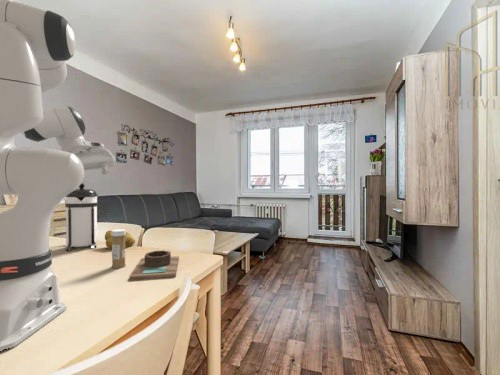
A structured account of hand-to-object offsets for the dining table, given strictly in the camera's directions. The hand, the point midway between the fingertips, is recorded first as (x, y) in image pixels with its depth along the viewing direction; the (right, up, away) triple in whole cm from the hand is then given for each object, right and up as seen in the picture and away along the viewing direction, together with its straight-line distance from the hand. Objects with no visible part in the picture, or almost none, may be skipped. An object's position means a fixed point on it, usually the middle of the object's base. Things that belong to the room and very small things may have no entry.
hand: (91, 175), depth 89 cm
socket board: (+24, -34, 0) cm, 41 cm away
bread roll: (-4, -33, +29) cm, 44 cm away
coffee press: (-23, -33, +29) cm, 49 cm away
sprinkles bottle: (+9, -34, +2) cm, 35 cm away
